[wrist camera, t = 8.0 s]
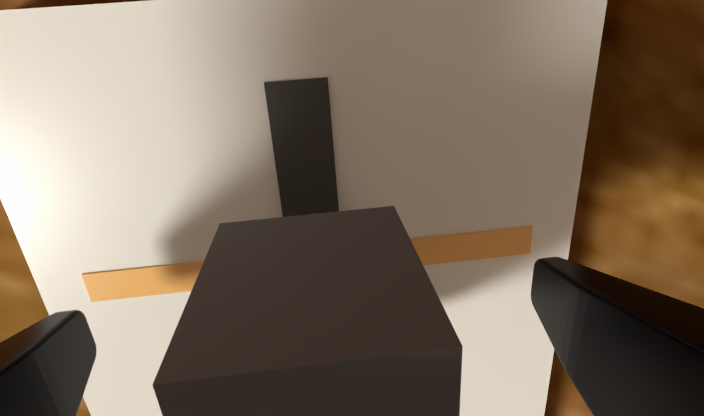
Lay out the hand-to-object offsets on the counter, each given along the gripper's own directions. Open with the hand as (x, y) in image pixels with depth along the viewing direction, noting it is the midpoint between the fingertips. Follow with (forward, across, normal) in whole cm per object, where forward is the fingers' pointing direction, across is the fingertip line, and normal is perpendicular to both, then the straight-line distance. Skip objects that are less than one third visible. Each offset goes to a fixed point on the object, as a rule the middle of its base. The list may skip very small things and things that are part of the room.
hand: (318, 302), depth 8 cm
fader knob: (+1, 0, 0) cm, 1 cm away
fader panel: (+4, 0, +5) cm, 6 cm away
